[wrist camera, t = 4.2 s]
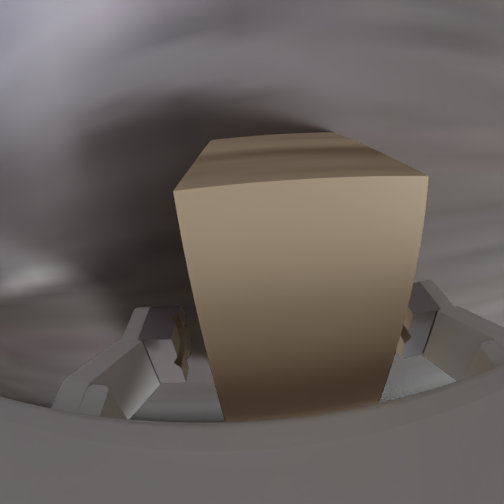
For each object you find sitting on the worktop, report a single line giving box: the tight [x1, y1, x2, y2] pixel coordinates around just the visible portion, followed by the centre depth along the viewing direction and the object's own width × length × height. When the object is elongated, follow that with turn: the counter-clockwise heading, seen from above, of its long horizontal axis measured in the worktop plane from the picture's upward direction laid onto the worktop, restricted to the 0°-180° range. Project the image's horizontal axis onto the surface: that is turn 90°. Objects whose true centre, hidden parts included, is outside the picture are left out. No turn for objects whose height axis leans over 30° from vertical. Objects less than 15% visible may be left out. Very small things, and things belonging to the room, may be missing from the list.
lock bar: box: [173, 132, 429, 422], centre depth 9 cm, size 10×4×6 cm, turn 5°
